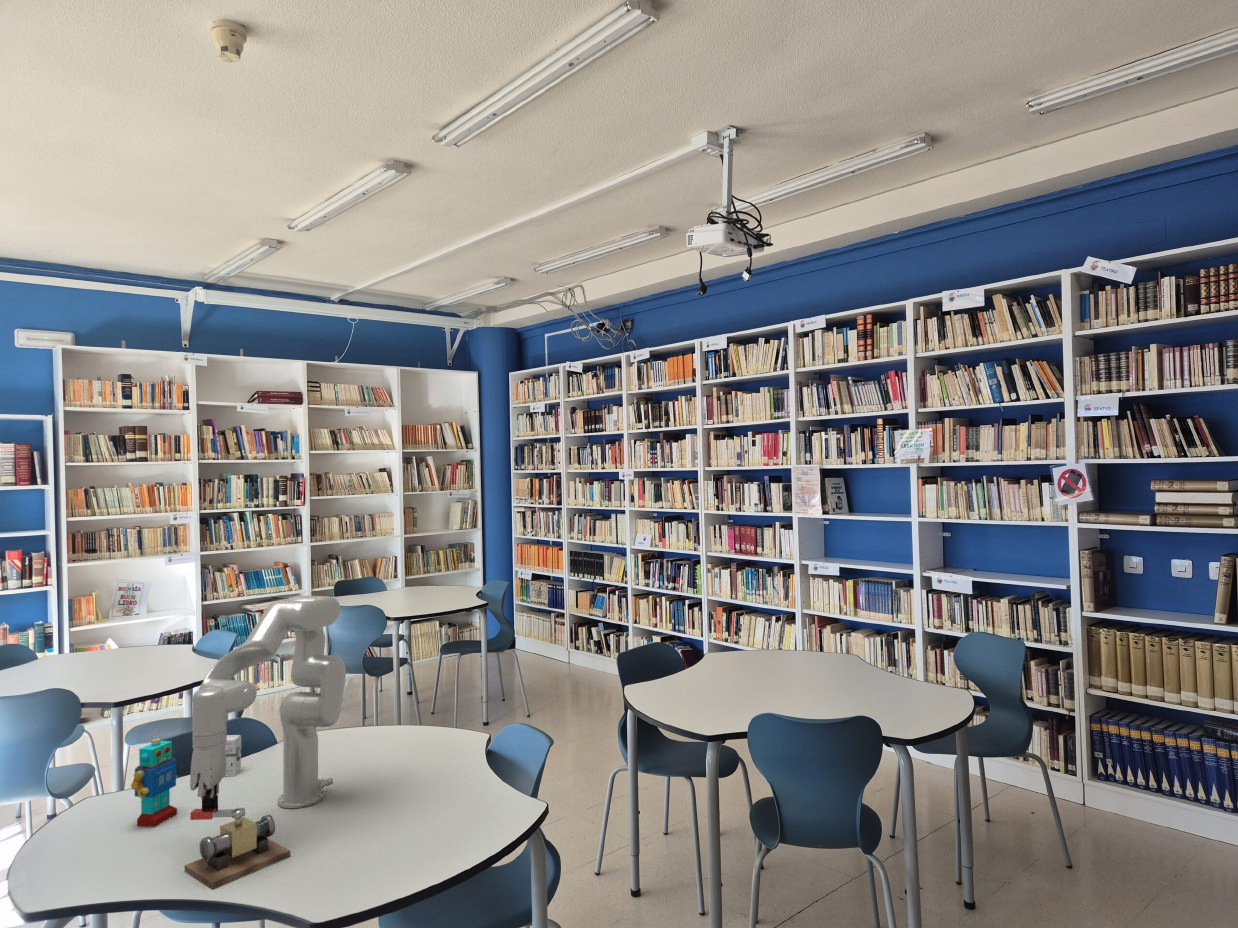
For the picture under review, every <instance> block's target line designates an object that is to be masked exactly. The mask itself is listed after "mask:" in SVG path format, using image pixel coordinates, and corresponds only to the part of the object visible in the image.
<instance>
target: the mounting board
mask: <svg viewBox="0 0 1238 928" xmlns="http://www.w3.org/2000/svg"><path fill="white" fill-rule="evenodd" d="M289 857H291V850H290V849H288V848H286V846H283V845H281V844H279V843H276V842H275V841H273V840H271V839H270V838H268V851H266V852H263V853H261V854H257V853H255V852H254V851H252V850H250V851H248V852H245V853H243V854H240V855H238V856H235V857H233V858H232V857H230V856H228V867H226V868H224V869H221V870H219V871H217V870H215V869H213V868H212V867H210V866H208V861H204V860H203V858H202V857H201V858H200V859H199V858H198V859H196V860H195V861H192V862H190V863H187V864H185V865H184V872H185V873H186V874H188V875H189V876H190V877H192V878H193V879H195V880H197V881H198V882H200V883H201V884H204V886H206V887H208V888H210V889H211V890H214V889H216V888H219V887H221V886H224V885H226V884H228V883H231V882H232V881H233V882H234V881H235V880H237V879H241V878H242V877H244V876H245V877H246V876H248V875H249V874H251V873H254V872H257V871H259V870H261V869H264V868H266V867H268V866H270V865H273V864H275V863H278V862H280V861H283V860H285V859H287V858H289Z"/></svg>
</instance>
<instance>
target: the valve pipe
mask: <svg viewBox="0 0 1238 928" xmlns="http://www.w3.org/2000/svg"><path fill="white" fill-rule="evenodd" d="M275 832H276V823H275V820H274V818H273V816H272V815H271V814H266V815H263V816H262V817H261V818H260V819H259V820H256V821H252V820H251V819H249V818H247V817H245V816H242V817H239V818H234V820H233V821H231V822H228V823H224V824H222V825H220V826H219V835H216V836H214V837H213V836H206V837H203V838H201V840H200V842H199V853H200V856H201V859H202V858H203V860H204V861H208V866H210V867H212V868H213V869H215V870H217V871H219V870H221V869H224V868H226V867H228V856H230V857H232V858H233V857H235V856H238V855H240V854H243V853H245V852H248V851H250V850H252V851H254V852H255V853H257V854H261V853H263V852H266V851H268V839H269V837H271V836H274V834H275Z"/></svg>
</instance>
